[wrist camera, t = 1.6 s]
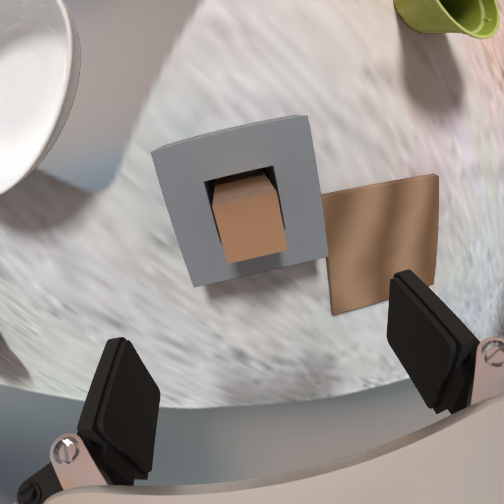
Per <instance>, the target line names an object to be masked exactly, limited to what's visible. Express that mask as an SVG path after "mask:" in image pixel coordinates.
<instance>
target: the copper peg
mask: <svg viewBox="0 0 504 504" xmlns="http://www.w3.org/2000/svg"><path fill="white" fill-rule="evenodd" d="M212 208H213V211H214V215H215V219H216V222H217V226H218V230H219V233H220V237H221V241H222V244H223V248H224V251H225V255H226V259H227V262H228V264H230V263H234V262H238V261H243V260H247V259H251V258H256V257H260V256H264V255H269V254H273V253H277V252H282V251H286V250H288V249H287V244H286V238H285V233H284V227H283V222H282V217H281V212H280V206H279V201H278V196H277V192H276V190H275V189H274V187H273V186H272V184H271V182H270V181H269V179H268V178H267V176H266V175H265V173H264V172H263V170H262V169H261V168H259V169H255V170H250V171H246V172H241V173H237V174H233V175H228V176H224V177H220V178H216V182H215V190H214V197H213V205H212Z"/></svg>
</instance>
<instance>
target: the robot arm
mask: <svg viewBox="0 0 504 504" xmlns="http://www.w3.org/2000/svg"><path fill="white" fill-rule="evenodd" d="M387 340H388V343H389V345H390V346H391V348H392V349H393V351H394V352H395V354H396V356H397V357H398V359H399V360H400V362H401V364H402V365H403V367H404V368H405V370H406V372H407V373H408V375H409V377H410V378H411V380H412V381H413V383H414V384H415V386H416V388H417V389H418V391H419V393H420V394H421V396H422V398H423V400H424V401H425V403H426V405H427V406H428V407H429V408H430V409H431V408H433V409H434V411H435V412H436V414H438V413H440V412H442V411H444V410H446V409H448V410H449V412H450V413H451V415H450V416H448V417H446V418H444V419H442V420H440V421H438V422H436V423H434V424H432V425H429V426H427V427H425V428H422V429H420V430H418V431H415V432H413V433H411V434H409V435H406V436H404V437H401V438H399V439H396V440H394V441H392V442H389V443H386V444H384V445H381V446H378V447H376V448H373V449H370V450H367V451H364V452H361V453H358V454H355V455H352V456H349V457H346V458H342V459H339V460H336V461H332V462H329V463H325V464H321V465H317V466H313V467H309V468H306V469H301V470H297V471H292V472H287V473H282V474H278V475H272V476H267V477H261V478H255V479H248V480H240V481H232V482H224V483H214V484H202V485H185V486H184V485H183V486H134V485H133V484H134V479H145V480H147V478H148V472H150V471H151V470H152V462H153V453H154V443H155V434H156V425H157V418H158V410H159V403H160V390H159V388H158V386H157V385H156V383H155V382H154V380H153V378H152V377H151V375H150V374H149V372H148V370H147V369H146V367H145V365H144V364H143V362H142V360H141V359H140V357H139V355H138V354H137V352H136V350H135V348H134V347H133V345H132V343H131V342H130V341H129V340H126V339H125V338H124V337H119V338H113V339H109V340H108V341H107V343H106V346H105V348H104V351H103V353H102V356H101V359H100V361H99V364H98V367H97V369H96V372H95V375H94V378H93V381H92V383H91V386H90V389H89V392H88V395H87V398H86V401H85V404H84V407H83V410H82V413H81V416H80V420H79V423H78V426H77V429H78V433H77V435H76V434H71V433H68V434H64V435H62V436H60V437H59V438H58V439H56V440H55V442H54V443H53V444H52V447H51V449H50V459H51V462H50V463H49V464H48V465H46V466H45V467H44V468H42V469H41V470H39V471H38V472H37V473H35V474H34V475H32V476H31V477H30V478H28V479H27V480H26V481H24V482H23V483H22V484H21V486H20V487H19V489H18V493H17V499H18V504H504V339H502V338H499V337H489V338H486V339H484V340H483V341H481V342H480V341H479V340H478V339H477V338H476V337H475V336H474V335H473V333H472V332H471V331H470V330H469V329H468V328H467V327H466V326H465V325H464V324H463V322H462V321H461V320H460V319H459V318H458V317H457V316H456V315H455V314H454V313H453V312H452V311H451V310H450V309H449V308H448V307H447V306H446V305H445V303H444V302H443V301H442V300H441V299H440V298H439V297H438V296H437V295H436V294H435V293H434V292H433V291H432V290H431V289H430V288H429V287H428V286H427V285H426V284H425V283H424V282H423V281H422V280H421V279H420V278H419V277H418V276H417V275H415V274H414V273H413V272H412V271H411V270H410V269H407V270H404V271H401V272H397V273H395V274H394V276H393V278H392V279H390V287H389V309H388V325H387ZM14 504H16V503H15V502H14Z"/></svg>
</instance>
